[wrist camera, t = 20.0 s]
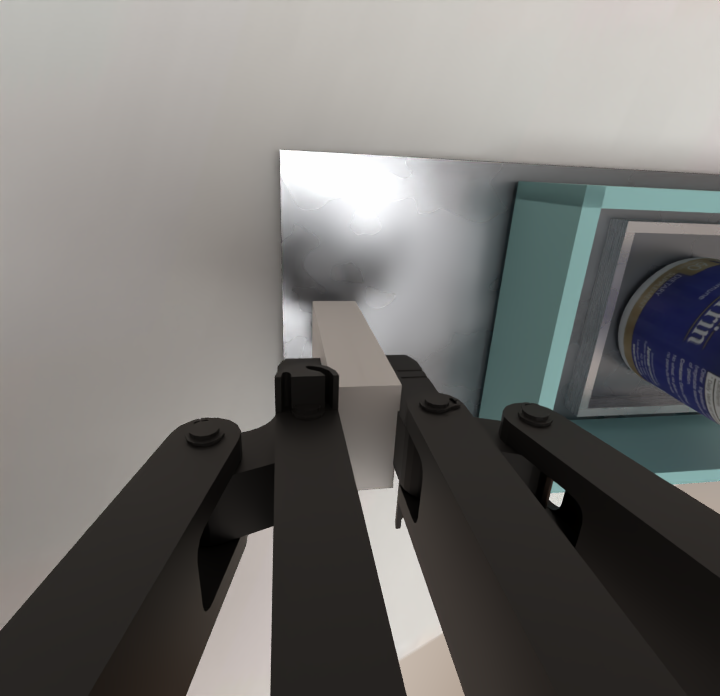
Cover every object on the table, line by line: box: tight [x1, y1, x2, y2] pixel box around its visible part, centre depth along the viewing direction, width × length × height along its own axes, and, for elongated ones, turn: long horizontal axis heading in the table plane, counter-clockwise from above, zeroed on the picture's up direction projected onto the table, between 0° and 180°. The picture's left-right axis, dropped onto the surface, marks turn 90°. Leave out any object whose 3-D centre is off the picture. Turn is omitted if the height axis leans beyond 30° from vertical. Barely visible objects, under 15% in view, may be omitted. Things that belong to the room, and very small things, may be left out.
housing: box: [479, 181, 720, 493], centre depth 17 cm, size 12×11×4 cm
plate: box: [280, 150, 720, 420], centre depth 19 cm, size 22×12×2 cm, turn 87°
